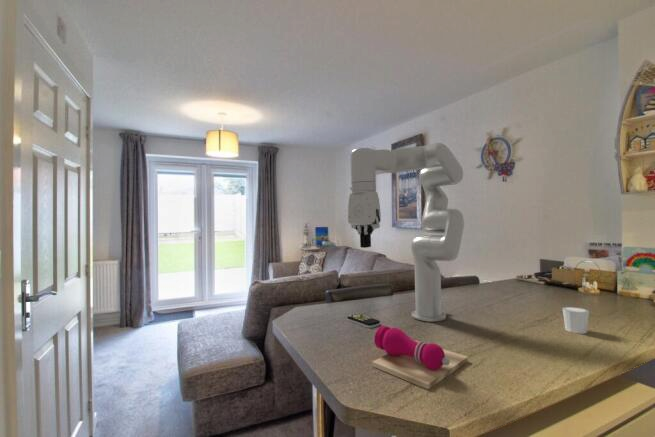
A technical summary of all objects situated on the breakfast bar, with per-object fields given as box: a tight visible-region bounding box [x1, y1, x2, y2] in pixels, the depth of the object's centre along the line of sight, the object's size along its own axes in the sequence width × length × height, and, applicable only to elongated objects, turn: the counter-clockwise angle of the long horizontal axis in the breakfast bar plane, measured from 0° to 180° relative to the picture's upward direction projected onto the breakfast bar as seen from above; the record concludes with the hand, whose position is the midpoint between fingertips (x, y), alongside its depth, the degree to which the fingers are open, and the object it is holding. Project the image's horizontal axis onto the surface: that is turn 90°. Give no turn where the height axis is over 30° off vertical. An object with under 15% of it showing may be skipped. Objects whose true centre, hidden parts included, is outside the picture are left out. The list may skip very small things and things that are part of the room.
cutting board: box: [371, 340, 469, 390], centre depth 83 cm, size 20×16×1 cm
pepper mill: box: [374, 325, 450, 370], centre depth 82 cm, size 7×7×20 cm
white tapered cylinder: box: [562, 306, 590, 335], centre depth 104 cm, size 7×7×7 cm
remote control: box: [346, 313, 381, 329], centre depth 117 cm, size 6×13×2 cm, turn 38°
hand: (365, 247), depth 99 cm, fingers closed
